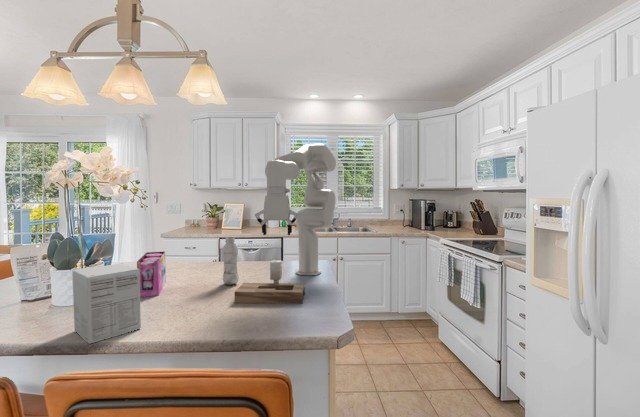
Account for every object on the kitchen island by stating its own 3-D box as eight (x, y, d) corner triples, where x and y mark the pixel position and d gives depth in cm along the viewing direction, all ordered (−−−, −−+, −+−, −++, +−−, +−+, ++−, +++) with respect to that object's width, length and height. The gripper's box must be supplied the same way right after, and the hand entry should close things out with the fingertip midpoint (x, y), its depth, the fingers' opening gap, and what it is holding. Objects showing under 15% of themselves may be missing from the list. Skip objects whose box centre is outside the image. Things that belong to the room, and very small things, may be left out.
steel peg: (271, 288, 138) (271, 260, 138) (282, 288, 138) (282, 260, 138) (269, 291, 134) (269, 262, 133) (280, 291, 134) (280, 262, 133)
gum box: (158, 296, 127) (158, 261, 127) (135, 298, 125) (134, 262, 124) (166, 281, 150) (165, 251, 149) (146, 283, 147) (145, 252, 147)
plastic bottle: (236, 286, 142) (235, 238, 141) (220, 286, 142) (219, 238, 141) (240, 282, 148) (239, 236, 147) (225, 282, 148) (224, 236, 147)
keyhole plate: (243, 293, 131) (243, 283, 131) (304, 293, 131) (304, 283, 130) (234, 303, 120) (234, 291, 119) (302, 303, 119) (302, 292, 119)
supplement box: (142, 329, 96) (141, 268, 96) (88, 345, 86) (86, 277, 86) (124, 318, 105) (122, 262, 104) (73, 331, 95) (71, 270, 94)
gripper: (299, 191, 137) (299, 233, 138) (256, 192, 138) (257, 233, 138) (297, 191, 130) (297, 236, 131) (252, 191, 130) (253, 236, 131)
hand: (276, 234), depth 134 cm, fingers open, 9 cm apart
